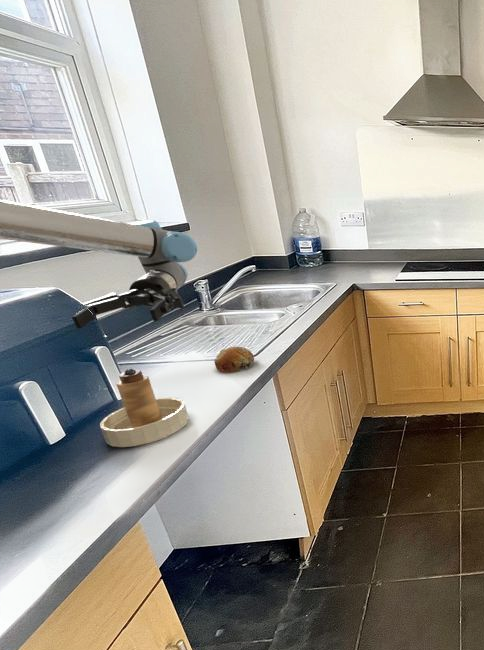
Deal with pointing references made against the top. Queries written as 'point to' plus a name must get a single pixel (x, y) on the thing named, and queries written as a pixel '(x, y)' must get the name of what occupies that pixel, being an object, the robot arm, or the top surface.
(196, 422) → the top surface
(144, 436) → the bowl
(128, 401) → the pepper mill
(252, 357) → the bread roll
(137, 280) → the robot arm
